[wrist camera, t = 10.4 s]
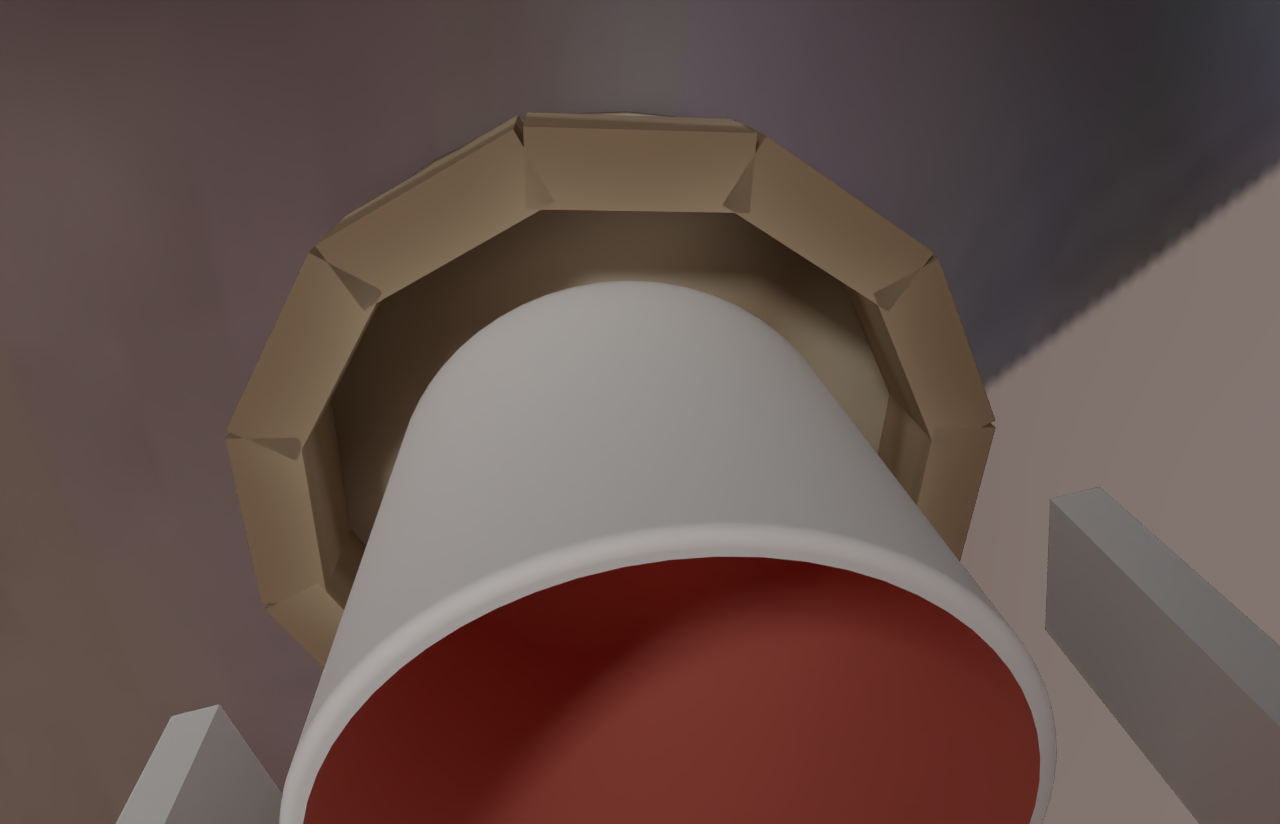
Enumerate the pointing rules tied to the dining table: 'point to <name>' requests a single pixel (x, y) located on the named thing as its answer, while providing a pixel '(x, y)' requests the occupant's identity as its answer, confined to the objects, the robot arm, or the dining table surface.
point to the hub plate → (574, 256)
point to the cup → (660, 600)
